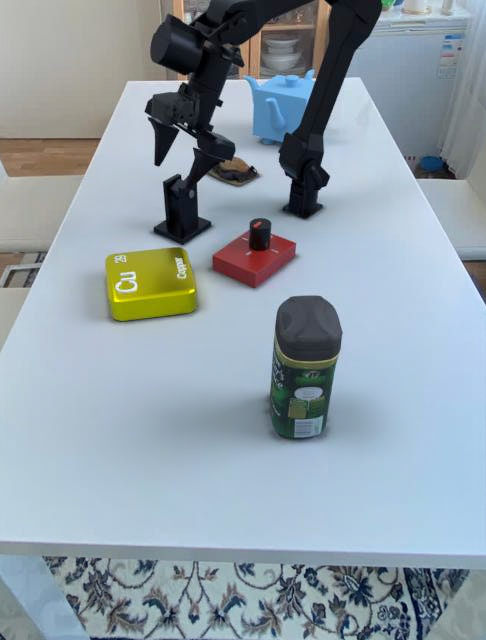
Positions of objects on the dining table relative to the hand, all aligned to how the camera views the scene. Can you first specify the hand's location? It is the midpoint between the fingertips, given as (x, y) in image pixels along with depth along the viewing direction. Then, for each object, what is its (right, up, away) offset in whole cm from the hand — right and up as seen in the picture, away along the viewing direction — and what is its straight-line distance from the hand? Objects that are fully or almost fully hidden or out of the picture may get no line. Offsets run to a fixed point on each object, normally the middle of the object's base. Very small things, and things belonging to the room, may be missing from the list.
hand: (172, 177), depth 101 cm
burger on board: (+12, +13, +31) cm, 36 cm away
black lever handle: (+4, +4, +11) cm, 12 cm away
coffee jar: (+19, -43, -21) cm, 52 cm away
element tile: (-4, -21, 0) cm, 21 cm away
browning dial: (+16, -11, +4) cm, 20 cm away
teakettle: (+26, +28, +44) cm, 59 cm away
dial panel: (+15, -14, +6) cm, 22 cm away
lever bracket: (+1, -5, +15) cm, 16 cm away
